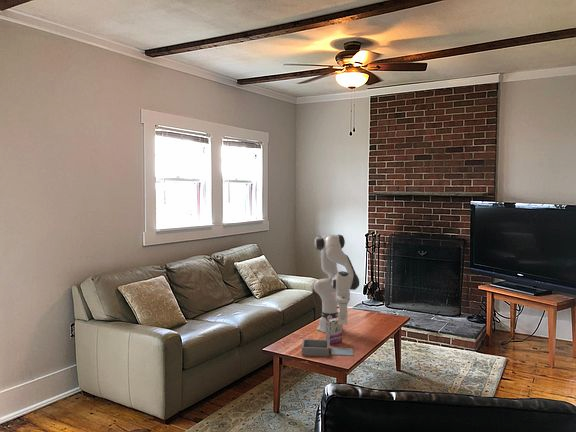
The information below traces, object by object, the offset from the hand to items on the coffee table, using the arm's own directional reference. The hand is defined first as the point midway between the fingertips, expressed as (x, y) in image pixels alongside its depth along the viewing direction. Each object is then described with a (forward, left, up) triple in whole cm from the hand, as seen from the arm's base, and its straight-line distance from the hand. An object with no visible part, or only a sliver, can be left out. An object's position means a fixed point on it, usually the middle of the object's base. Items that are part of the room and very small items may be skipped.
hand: (342, 318), depth 289 cm
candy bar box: (-17, -5, -22) cm, 28 cm away
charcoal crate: (0, -17, -22) cm, 28 cm away
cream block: (0, 0, -3) cm, 3 cm away
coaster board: (0, 0, -22) cm, 22 cm away
